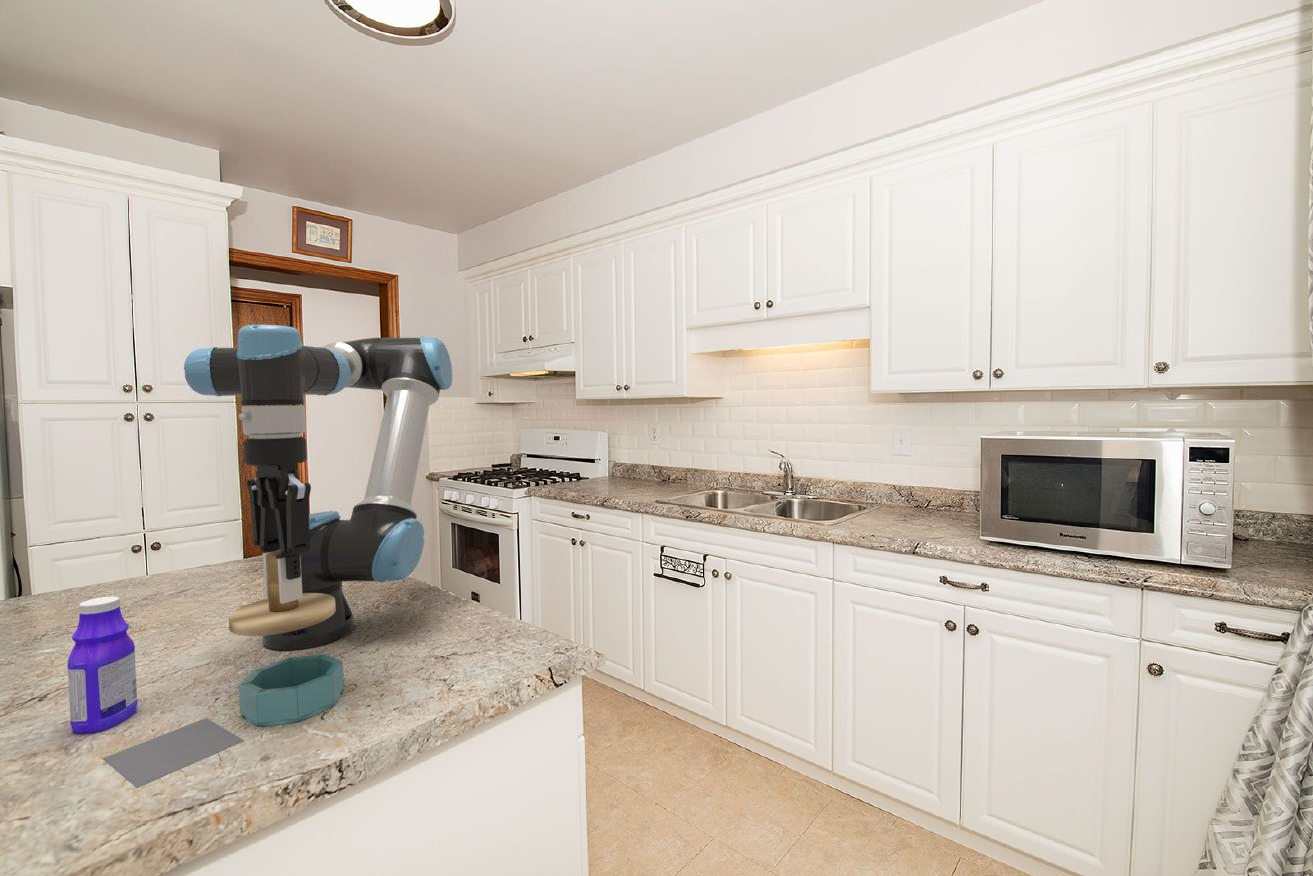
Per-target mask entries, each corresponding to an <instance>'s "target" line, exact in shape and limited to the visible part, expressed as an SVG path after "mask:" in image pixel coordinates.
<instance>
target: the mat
mask: <svg viewBox="0 0 1313 876" xmlns="http://www.w3.org/2000/svg"><path fill="white" fill-rule="evenodd" d="M243 742H245V739H242V738H241V737H239V736H237V735H236V734H234V733H233V732H231V731H229V730H227V729H226V728H224V727H222V726H221V725H219V724H217V723H216V722H214V721H213V720H211V719H210V718H208V717H205V718H202V719H200V720H197V721H195V722H192V723H190V724H187V725H185V726H182V727H178V728H177V729H174V730H172V731H169V732H167V733H164V734H162V735H159V736H156V737H153V738H151V739H149V740H146V741H143V742H141V743H138V744H135V745H133V746H130V747H127V748H126V749H123V750H120V751H117V752H115V753H112V754H109V755H108V756H105V757H103V758H102V760H104V761H105V763H107V764H108V765H109V766H110V767H112V768H113V769H114V770H116V772H118V773H119V774H120V775H121V776H122V777H124V778H125V779H126V780H127V781H128V782H129V783H130V784H131V785H132V786H134V787H135V788H140V787H143V786H145V785H147V784H150V783H151V782H154V781H156V780H159V779H160V778H163V777H165V776H168V775H170V774H173V773H174V772H176V771H177V772H178V771H179V770H181V769H184V768H186V767H189V766H190V765H193V764H195V763H197V762H199V761H202V760H204V759H207V758H208V757H211V756H213V755H215V754H218V753H220V752H222V751H225V750H227V749H229V748H231V747H234V746H237V745H239V744H240V743H243Z"/></svg>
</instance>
